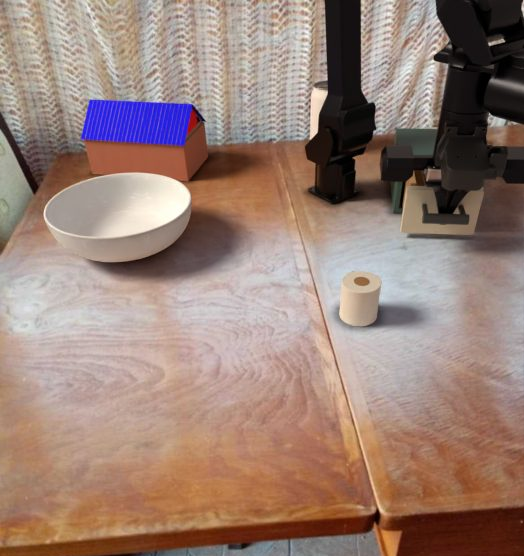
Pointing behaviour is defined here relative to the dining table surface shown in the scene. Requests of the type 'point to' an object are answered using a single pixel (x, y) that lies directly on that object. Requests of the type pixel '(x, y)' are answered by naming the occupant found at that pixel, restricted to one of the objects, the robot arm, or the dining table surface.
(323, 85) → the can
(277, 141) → the dining table surface
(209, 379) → the dining table surface
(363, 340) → the dining table surface
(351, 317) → the toilet paper roll
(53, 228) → the serving bowl
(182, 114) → the house
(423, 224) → the drawer
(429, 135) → the cabinet
